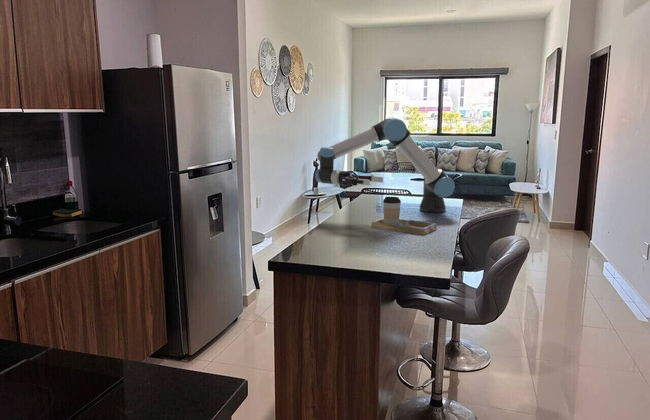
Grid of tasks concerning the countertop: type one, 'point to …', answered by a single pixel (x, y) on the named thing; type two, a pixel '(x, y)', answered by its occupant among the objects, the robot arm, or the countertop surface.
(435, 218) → the countertop surface
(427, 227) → the oak rack
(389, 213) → the coffee cup
